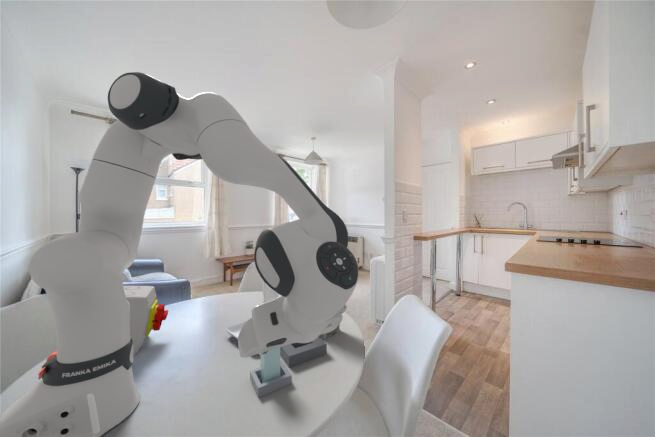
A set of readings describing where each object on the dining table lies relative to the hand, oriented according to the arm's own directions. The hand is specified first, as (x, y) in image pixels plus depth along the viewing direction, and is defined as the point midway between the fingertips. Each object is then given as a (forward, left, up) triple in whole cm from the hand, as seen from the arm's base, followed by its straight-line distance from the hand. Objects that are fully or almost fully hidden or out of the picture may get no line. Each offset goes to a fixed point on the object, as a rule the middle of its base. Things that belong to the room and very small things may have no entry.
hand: (283, 344), depth 51 cm
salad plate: (+7, +34, -15) cm, 38 cm away
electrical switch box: (-31, +51, -15) cm, 62 cm away
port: (+12, +17, -14) cm, 26 cm away
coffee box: (+26, +25, -15) cm, 39 cm away
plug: (0, +9, -13) cm, 16 cm away
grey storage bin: (0, +9, -14) cm, 17 cm away
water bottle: (+15, +53, -15) cm, 57 cm away
